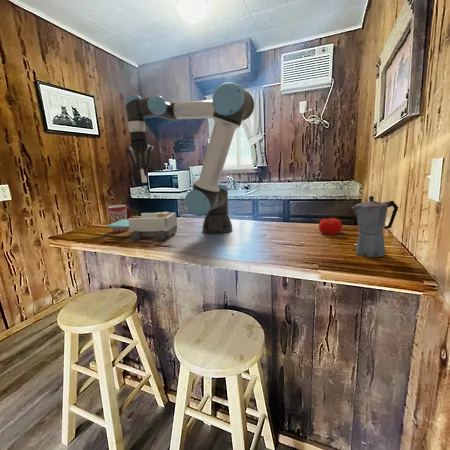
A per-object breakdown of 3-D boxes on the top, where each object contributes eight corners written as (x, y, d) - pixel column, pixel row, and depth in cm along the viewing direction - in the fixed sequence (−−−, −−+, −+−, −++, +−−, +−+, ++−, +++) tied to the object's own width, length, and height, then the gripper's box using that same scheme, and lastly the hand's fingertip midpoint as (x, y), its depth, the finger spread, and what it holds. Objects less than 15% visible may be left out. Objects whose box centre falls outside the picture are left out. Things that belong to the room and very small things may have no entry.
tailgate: (143, 219, 132) (123, 218, 133) (127, 226, 116) (105, 225, 117) (143, 221, 132) (124, 220, 133) (127, 229, 116) (105, 228, 117)
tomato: (318, 235, 113) (318, 221, 112) (319, 229, 123) (319, 216, 122) (342, 237, 110) (343, 222, 108) (341, 230, 120) (342, 217, 118)
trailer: (178, 230, 132) (177, 211, 130) (166, 241, 114) (164, 219, 112) (145, 231, 134) (143, 212, 132) (128, 241, 116) (125, 219, 114)
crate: (168, 221, 126) (168, 211, 125) (167, 224, 121) (166, 213, 120) (158, 222, 126) (157, 212, 124) (156, 224, 121) (155, 214, 120)
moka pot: (341, 250, 93) (345, 195, 88) (382, 247, 94) (387, 193, 90) (357, 259, 84) (362, 198, 79) (401, 256, 85) (409, 196, 80)
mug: (119, 233, 131) (115, 207, 128) (107, 232, 136) (104, 207, 132) (138, 228, 142) (135, 204, 139) (127, 226, 146) (124, 203, 143)
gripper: (153, 131, 124) (160, 181, 128) (128, 134, 125) (135, 183, 130) (148, 129, 116) (154, 182, 121) (120, 132, 118) (128, 183, 122)
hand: (144, 182), depth 125 cm, fingers closed
